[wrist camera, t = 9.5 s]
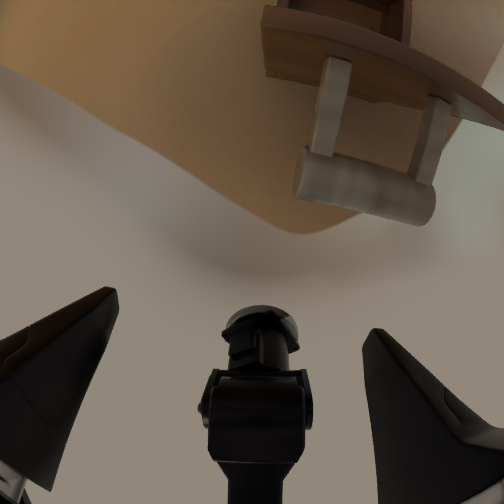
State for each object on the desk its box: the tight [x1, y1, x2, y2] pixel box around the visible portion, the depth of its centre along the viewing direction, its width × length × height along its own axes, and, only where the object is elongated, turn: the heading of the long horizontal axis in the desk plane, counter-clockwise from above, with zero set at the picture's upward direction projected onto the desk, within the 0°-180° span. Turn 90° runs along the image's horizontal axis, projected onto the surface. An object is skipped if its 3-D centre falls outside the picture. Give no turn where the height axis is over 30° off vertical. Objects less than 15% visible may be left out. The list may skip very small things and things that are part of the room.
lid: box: [261, 5, 504, 226], centre depth 9 cm, size 9×8×5 cm
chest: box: [266, 0, 412, 103], centre depth 12 cm, size 8×8×5 cm
